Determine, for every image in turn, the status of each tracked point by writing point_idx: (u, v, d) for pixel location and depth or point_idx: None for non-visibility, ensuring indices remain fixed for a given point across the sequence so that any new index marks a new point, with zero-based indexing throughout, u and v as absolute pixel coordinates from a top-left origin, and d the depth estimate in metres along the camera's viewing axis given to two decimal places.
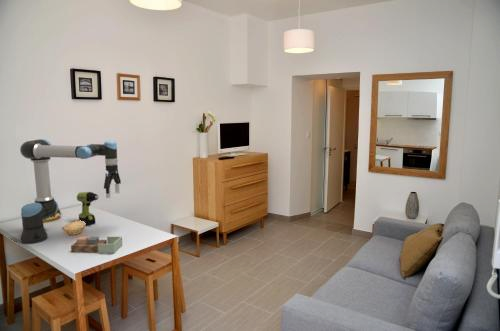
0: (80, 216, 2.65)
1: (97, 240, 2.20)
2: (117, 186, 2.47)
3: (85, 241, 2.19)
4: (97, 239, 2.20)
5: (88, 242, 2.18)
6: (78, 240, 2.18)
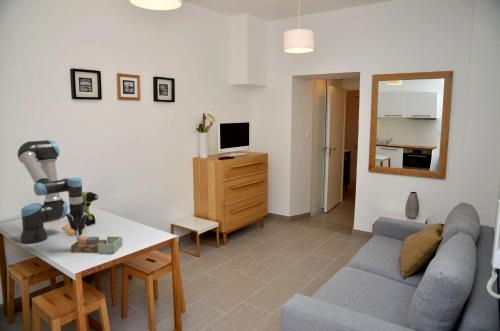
0: None
1: (97, 240, 2.20)
2: None
3: (86, 241, 2.19)
4: (97, 239, 2.20)
5: (88, 242, 2.18)
6: (79, 240, 2.18)
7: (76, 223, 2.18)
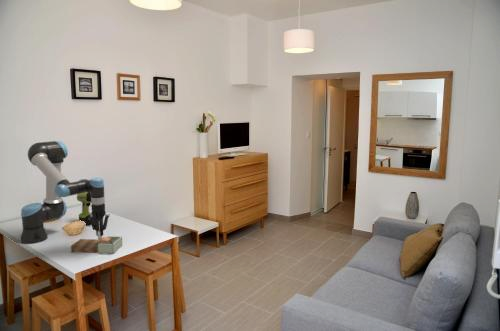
0: (80, 216, 2.65)
1: None
2: None
3: (108, 242, 2.18)
4: None
5: None
6: (101, 241, 2.17)
7: (98, 224, 2.18)
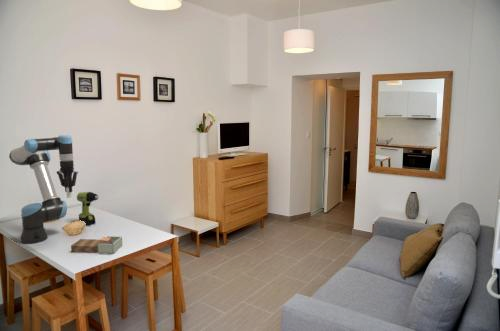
0: (80, 216, 2.65)
1: None
2: None
3: (108, 242, 2.18)
4: None
5: None
6: (101, 241, 2.17)
7: (66, 180, 2.23)
